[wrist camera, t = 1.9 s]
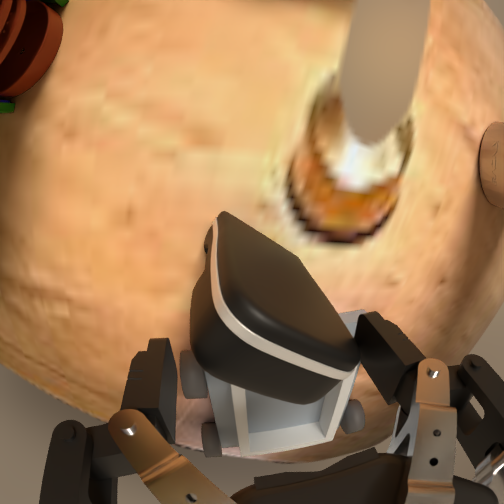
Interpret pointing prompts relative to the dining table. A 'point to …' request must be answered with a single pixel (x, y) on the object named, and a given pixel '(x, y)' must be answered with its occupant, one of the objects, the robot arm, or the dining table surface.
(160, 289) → the dining table surface
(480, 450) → the robot arm
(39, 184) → the dining table surface
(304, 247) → the dining table surface
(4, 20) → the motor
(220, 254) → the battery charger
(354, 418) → the chassis
